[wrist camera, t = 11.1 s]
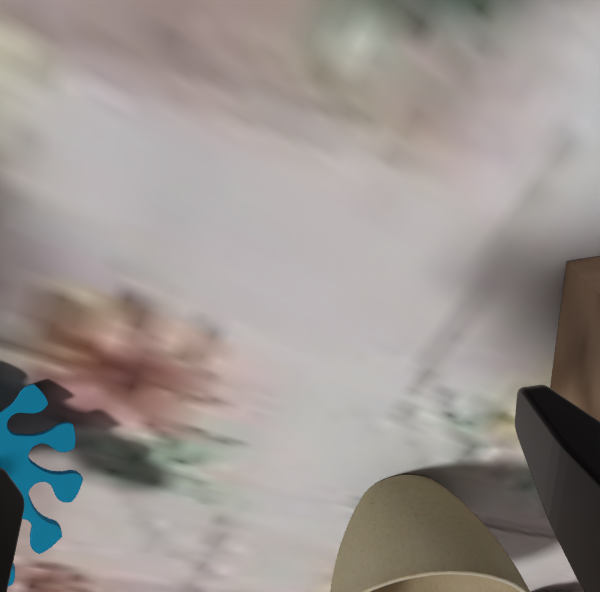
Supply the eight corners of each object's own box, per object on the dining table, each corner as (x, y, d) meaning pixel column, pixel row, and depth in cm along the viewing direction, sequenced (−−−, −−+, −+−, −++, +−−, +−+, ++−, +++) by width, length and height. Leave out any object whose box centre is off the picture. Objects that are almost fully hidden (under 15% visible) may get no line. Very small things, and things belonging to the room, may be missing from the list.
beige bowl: (408, 416, 27) (447, 545, 21) (519, 492, 31) (578, 620, 25) (281, 510, 31) (284, 642, 25) (395, 568, 35) (421, 694, 29)
